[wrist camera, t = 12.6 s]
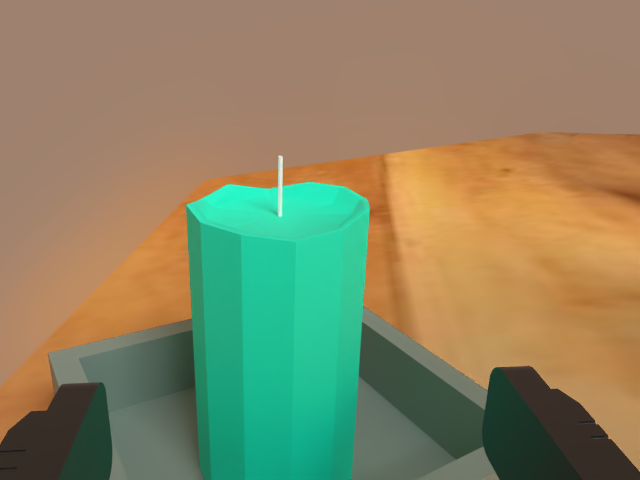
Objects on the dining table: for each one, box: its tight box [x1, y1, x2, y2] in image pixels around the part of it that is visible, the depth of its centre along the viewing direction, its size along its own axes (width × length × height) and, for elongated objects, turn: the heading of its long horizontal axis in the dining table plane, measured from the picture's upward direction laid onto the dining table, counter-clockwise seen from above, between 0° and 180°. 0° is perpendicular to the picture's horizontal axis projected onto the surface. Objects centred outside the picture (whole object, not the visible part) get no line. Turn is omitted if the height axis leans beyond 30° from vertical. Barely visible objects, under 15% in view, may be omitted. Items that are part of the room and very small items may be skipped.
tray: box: [48, 306, 499, 480], centre depth 22 cm, size 14×14×4 cm
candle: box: [186, 156, 370, 480], centre depth 20 cm, size 6×6×12 cm
